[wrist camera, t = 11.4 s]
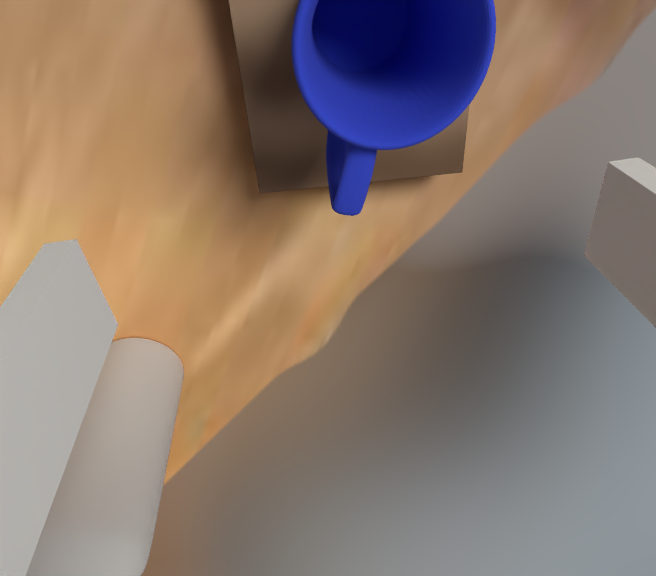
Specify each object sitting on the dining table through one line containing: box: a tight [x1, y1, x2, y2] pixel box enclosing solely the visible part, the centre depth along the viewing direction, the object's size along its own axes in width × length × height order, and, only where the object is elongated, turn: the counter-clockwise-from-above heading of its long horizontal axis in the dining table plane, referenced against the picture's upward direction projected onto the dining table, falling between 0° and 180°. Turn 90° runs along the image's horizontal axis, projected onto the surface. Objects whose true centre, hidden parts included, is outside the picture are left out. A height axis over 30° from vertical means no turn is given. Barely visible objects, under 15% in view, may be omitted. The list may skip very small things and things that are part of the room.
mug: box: [291, 0, 496, 216], centre depth 24 cm, size 8×12×10 cm
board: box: [229, 0, 469, 193], centre depth 30 cm, size 16×14×4 cm
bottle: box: [26, 338, 184, 576], centre depth 34 cm, size 8×8×30 cm
